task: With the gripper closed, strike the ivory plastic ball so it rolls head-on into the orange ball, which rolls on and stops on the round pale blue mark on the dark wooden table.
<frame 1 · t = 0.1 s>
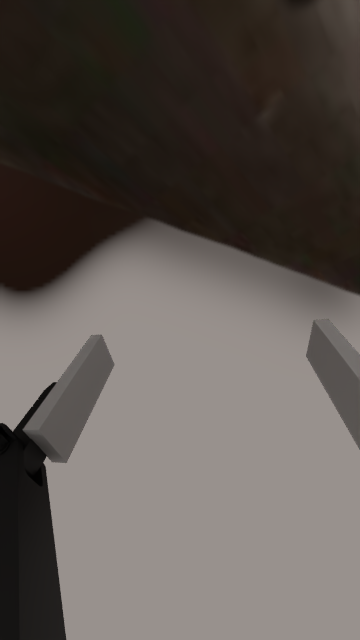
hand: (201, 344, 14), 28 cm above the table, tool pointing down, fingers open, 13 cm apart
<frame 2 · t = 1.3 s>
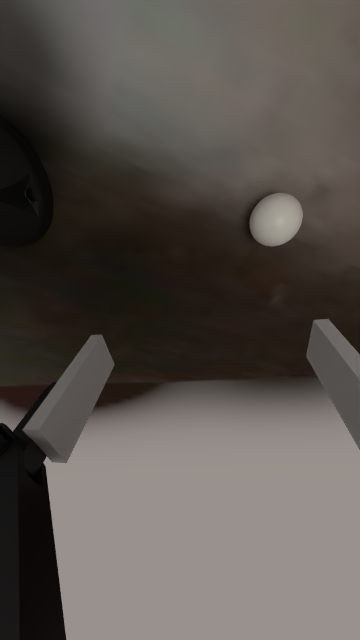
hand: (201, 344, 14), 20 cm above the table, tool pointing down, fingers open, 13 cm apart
ivory ball: (274, 220, 25), on the table
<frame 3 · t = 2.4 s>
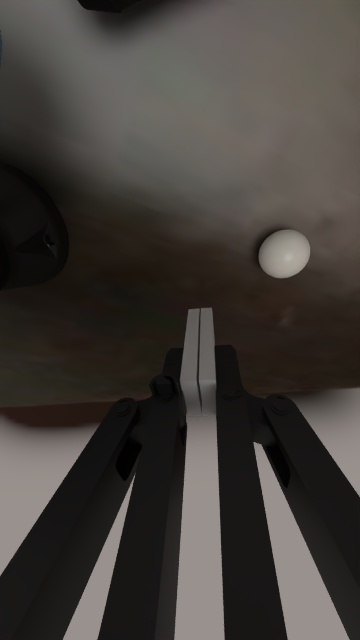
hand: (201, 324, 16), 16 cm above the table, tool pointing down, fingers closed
ivory ball: (283, 254, 26), on the table
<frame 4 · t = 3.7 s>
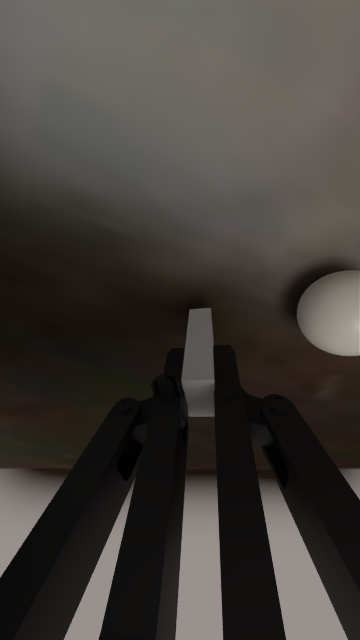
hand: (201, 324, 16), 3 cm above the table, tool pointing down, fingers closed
ivory ball: (344, 313, 14), on the table
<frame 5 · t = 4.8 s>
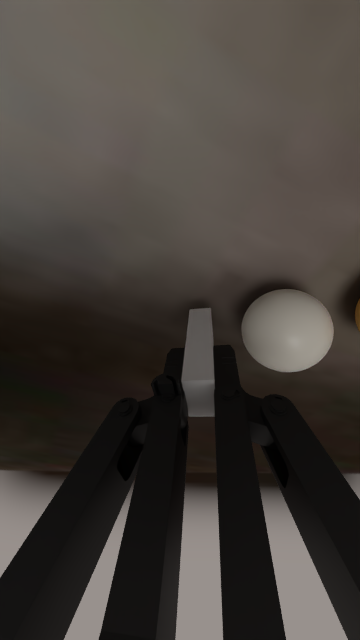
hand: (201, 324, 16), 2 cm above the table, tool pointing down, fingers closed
ivory ball: (283, 330, 15), on the table
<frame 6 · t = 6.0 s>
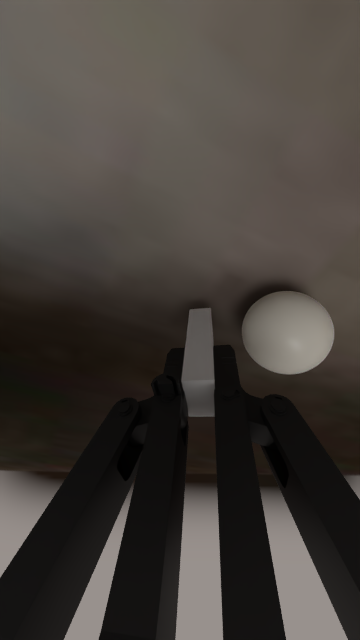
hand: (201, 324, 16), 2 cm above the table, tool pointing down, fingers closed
ivory ball: (284, 332, 15), on the table
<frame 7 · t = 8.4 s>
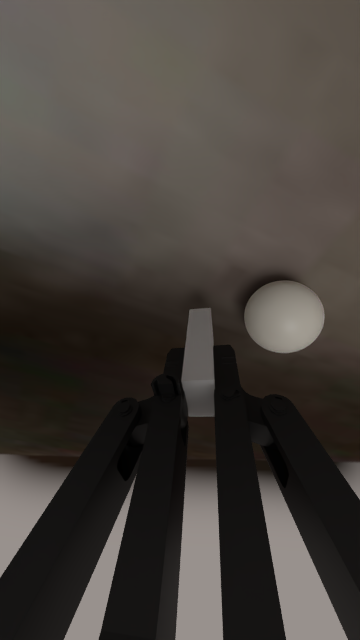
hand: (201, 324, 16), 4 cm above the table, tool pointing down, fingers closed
ivory ball: (281, 316, 17), on the table
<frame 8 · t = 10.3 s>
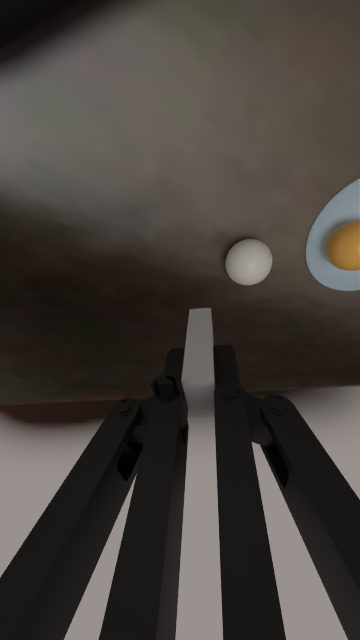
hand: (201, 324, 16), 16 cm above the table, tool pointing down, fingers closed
ivory ball: (248, 262, 27), on the table
orange ball: (354, 245, 25), on the table
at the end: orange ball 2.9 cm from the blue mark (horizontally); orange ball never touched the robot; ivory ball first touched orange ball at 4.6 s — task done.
